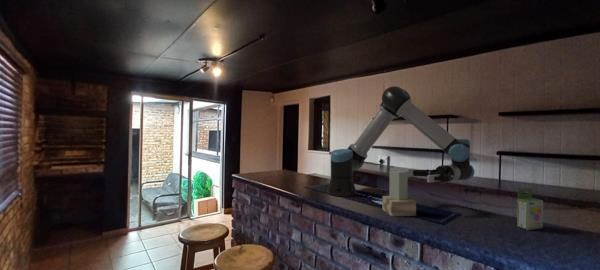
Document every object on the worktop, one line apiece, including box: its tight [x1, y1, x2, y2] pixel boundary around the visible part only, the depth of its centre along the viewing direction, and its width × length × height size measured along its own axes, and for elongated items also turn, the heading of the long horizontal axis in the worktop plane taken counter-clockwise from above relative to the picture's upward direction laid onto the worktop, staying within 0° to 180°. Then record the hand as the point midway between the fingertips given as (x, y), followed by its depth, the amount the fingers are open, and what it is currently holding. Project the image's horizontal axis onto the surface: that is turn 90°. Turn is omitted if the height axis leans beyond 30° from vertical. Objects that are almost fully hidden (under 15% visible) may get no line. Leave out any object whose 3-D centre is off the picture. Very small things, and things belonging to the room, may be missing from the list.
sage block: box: [388, 170, 409, 200], centre depth 120 cm, size 5×5×11 cm
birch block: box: [381, 195, 417, 217], centre depth 119 cm, size 10×10×6 cm
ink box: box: [516, 187, 544, 231], centre depth 100 cm, size 7×4×13 cm, turn 105°
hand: (414, 176), depth 123 cm, fingers open, 13 cm apart
